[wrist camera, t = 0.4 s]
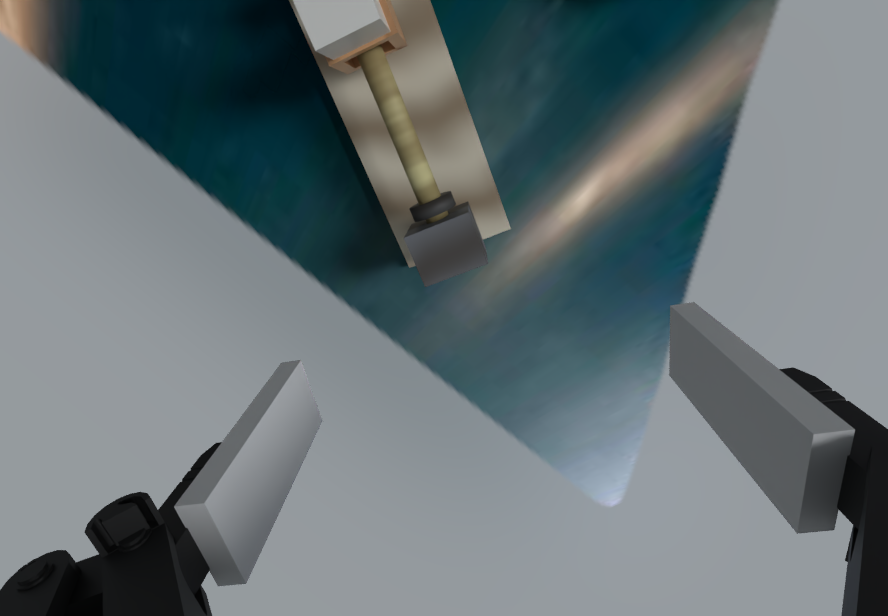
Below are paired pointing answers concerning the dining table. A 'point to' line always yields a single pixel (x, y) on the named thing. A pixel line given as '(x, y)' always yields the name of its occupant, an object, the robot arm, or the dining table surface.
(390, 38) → the two-tone block
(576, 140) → the dining table surface
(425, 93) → the cord rig
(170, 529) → the robot arm
